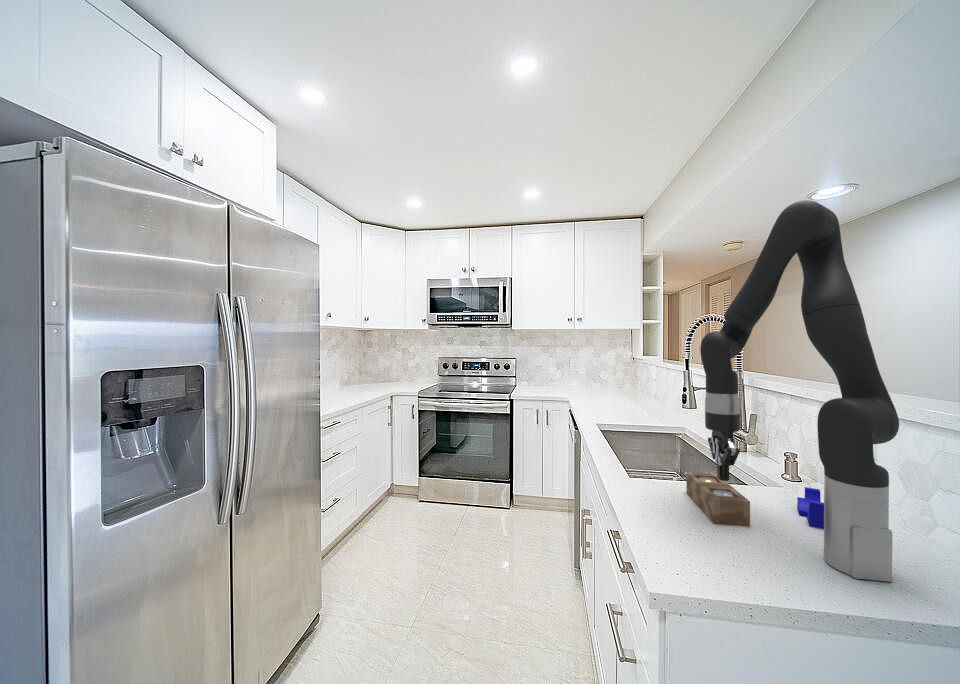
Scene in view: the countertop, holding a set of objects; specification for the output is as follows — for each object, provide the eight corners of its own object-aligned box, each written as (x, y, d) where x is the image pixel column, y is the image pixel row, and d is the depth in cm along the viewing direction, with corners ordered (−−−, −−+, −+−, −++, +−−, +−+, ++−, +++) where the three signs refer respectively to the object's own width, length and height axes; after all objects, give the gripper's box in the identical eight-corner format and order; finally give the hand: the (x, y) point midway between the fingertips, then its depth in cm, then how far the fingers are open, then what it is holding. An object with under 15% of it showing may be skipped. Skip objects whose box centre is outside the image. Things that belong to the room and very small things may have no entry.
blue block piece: (797, 508, 106) (797, 485, 106) (819, 512, 103) (819, 489, 103) (801, 525, 96) (801, 500, 96) (825, 530, 93) (826, 505, 93)
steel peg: (736, 519, 98) (736, 497, 98) (716, 517, 99) (717, 495, 99) (728, 511, 102) (728, 490, 102) (710, 510, 103) (710, 489, 103)
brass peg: (719, 502, 108) (719, 482, 108) (702, 501, 109) (702, 481, 109) (713, 496, 112) (713, 477, 112) (696, 495, 113) (696, 476, 113)
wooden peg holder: (750, 526, 95) (750, 501, 95) (713, 523, 96) (713, 499, 96) (716, 494, 115) (716, 473, 115) (686, 492, 116) (686, 472, 116)
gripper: (751, 415, 93) (753, 489, 93) (726, 407, 106) (727, 472, 106) (717, 414, 94) (718, 488, 94) (696, 406, 107) (697, 471, 107)
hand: (723, 479), depth 100 cm, fingers closed
